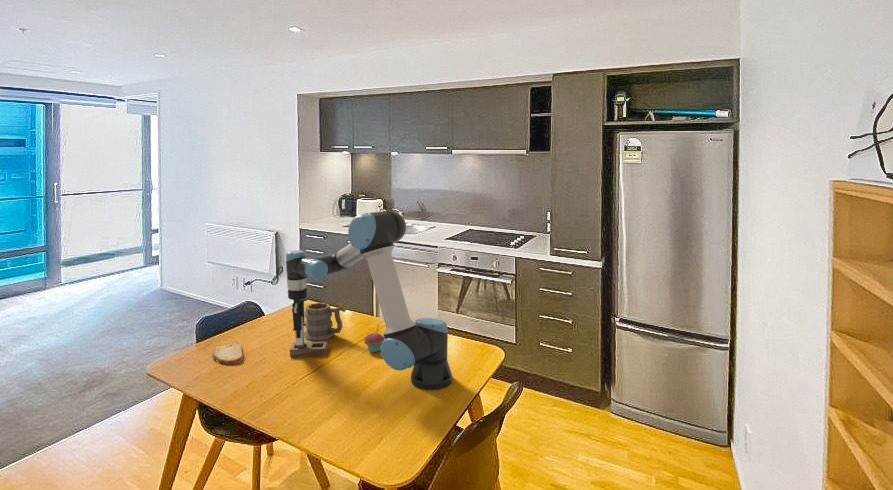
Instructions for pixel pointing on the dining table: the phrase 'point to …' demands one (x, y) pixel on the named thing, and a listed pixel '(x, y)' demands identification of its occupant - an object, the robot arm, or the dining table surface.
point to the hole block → (309, 349)
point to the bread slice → (229, 353)
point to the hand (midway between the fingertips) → (300, 342)
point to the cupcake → (374, 341)
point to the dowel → (302, 334)
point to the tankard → (321, 321)
